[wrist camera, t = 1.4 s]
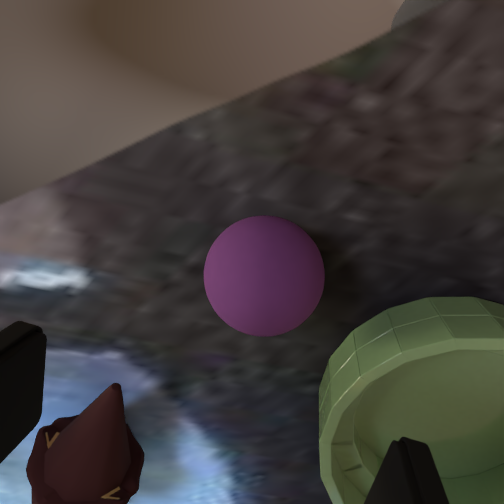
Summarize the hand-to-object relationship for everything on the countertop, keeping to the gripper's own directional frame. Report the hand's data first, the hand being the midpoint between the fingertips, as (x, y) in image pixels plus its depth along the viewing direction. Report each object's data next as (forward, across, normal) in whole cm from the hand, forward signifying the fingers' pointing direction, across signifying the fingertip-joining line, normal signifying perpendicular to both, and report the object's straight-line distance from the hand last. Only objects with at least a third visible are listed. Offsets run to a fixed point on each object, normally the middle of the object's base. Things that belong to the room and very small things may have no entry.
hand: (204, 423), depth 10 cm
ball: (+10, 0, 0) cm, 10 cm away
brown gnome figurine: (+14, +8, +16) cm, 22 cm away
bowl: (+13, -12, +6) cm, 19 cm away
